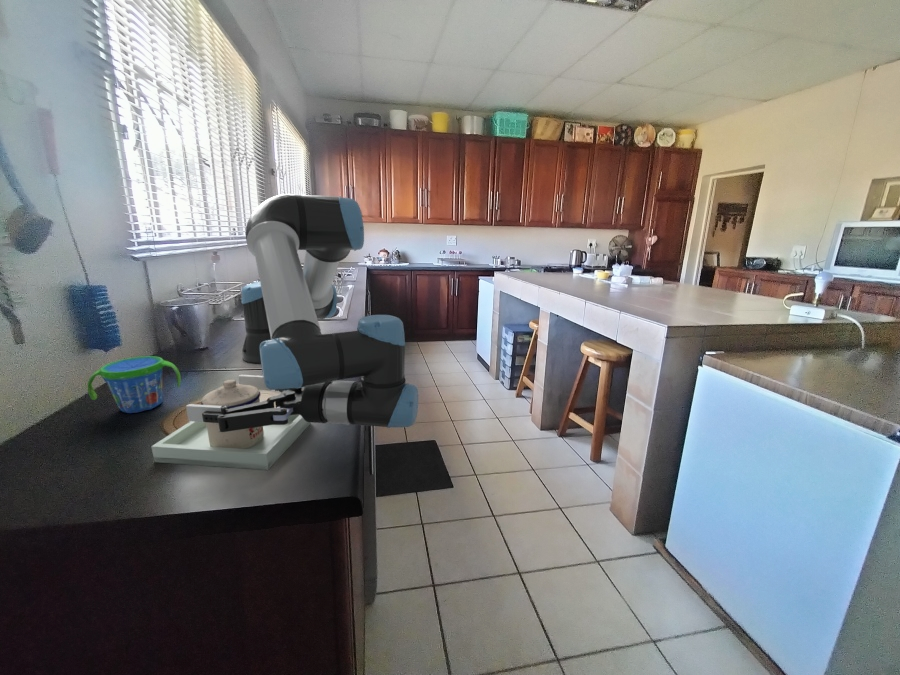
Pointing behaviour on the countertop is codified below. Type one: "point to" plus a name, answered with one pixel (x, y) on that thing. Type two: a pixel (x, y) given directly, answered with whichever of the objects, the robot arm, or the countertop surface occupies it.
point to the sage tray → (196, 450)
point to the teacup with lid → (231, 398)
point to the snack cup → (134, 382)
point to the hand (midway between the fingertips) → (216, 395)
